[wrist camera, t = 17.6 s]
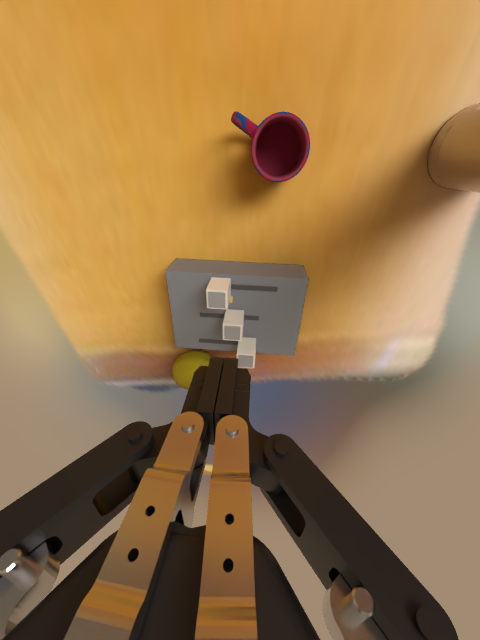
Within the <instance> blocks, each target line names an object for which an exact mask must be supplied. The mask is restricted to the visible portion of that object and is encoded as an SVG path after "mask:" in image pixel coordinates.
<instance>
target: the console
mask: <svg viewBox="0 0 480 640" xmlns="http://www.w3.org/2000/svg"><path fill="white" fill-rule="evenodd" d="M211 277H219V278H231V297H230V301H229V305H228V309H234V310H244V327H243V336H242V337H248V338H256V353H265V354H279V355H293V356H294V355H295V350H296V344H297V339H298V334H299V328H300V323H301V318H302V312H303V307H304V302H305V296H306V291H307V286H308V280H309V278H308V276H307V273H306V271H305V268H304V266H303V265H289V264H271V263H252V262H234V261H215V260H197V259H178V258H176V260H175V261H174V262H173V263H172V264H171V265H170V266H169V267H168V269H167V270H166V279H167V286H168V294H169V301H170V309H171V316H172V323H173V331H174V338H175V346H176V347H179V348H194V349H208V350H222V351H236V352H237V348H238V341H232V340H223V320H224V316H225V312H226V309H210V308H207V298H206V289H207V286H208V284H209V282H210V280H211Z"/></svg>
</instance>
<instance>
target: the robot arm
mask: <svg viewBox="0 0 480 640" xmlns="http://www.w3.org/2000/svg"><path fill="white" fill-rule="evenodd" d="M428 169H429V173H430V176H431V178H432V179H433V180H434V181H435V183H437V184H438V185H440V186H442V187H446V188H452V189H459V190H465V191H472V192H480V103H479V104H475V105H472V106H470V107H468V108H465V109H463V110H462V111H460V112H459V113H457V114H456V115H454V116H453V117H452V118H451V119H450V120H449V121H448V122H447V123H446V124H445V125H444V126H443V127H442V129H441V130H440V131H439V133H438V134H437V136H436V137H435V139H434V141H433V144H432V146H431V149H430V152H429V156H428ZM250 380H251V376H250V374H249V372H248V370H247V369H240V368H238V359H236V358H225V360H224V358H221V357H211V358H210V361H209V365H208V366H200V367H199V368H198V369H197V370H196V371H195V372H194V375H193V378H192V381H191V384H190V388H189V390H188V394H187V396H186V400H185V403H184V406H183V409H182V412H181V414H180V415H178V416H177V417H176V418H175V419H174V421H173V422H171V423H170V424H167V425H164V426H159V427H155V428H151V426H150V425H149V424H148V423H146V422H134V423H131V424H129V425H127V426H126V427H124V428H123V429H122V430H120V431H118V432H117V433H115V434H114V435H113V436H111V437H110V438H108V439H107V440H105V441H104V442H102V443H101V444H99V445H98V446H96V447H95V448H93V449H92V450H90V451H89V452H87V453H86V454H84V455H83V456H81V457H80V458H78V459H77V460H75V461H74V462H72V463H71V464H69V465H68V466H66V467H65V468H63V469H62V470H60V471H59V472H58V473H56V474H55V475H53V476H52V477H50V478H49V479H47V480H46V481H44V482H43V483H41V484H40V485H38V486H37V487H36V488H34V489H32V490H31V491H29V492H28V493H26V494H25V495H23V496H22V497H20V498H19V499H17V500H16V501H14V502H13V503H12V504H10V505H9V506H7V507H5V508H4V509H3V510H1V511H0V640H320V638H319V637H318V635H317V633H316V631H315V629H314V627H313V626H312V624H311V622H310V620H309V618H308V616H307V615H306V613H305V611H304V609H303V608H302V606H301V604H300V602H299V600H298V598H297V596H296V595H295V593H294V591H293V589H292V587H291V586H290V584H289V582H288V580H287V578H286V576H285V575H284V573H283V571H282V569H281V567H280V565H279V564H278V562H277V560H276V558H275V557H274V556H273V554H272V553H271V551H270V550H269V549H268V548H267V547H266V546H265V545H264V544H263V543H262V542H261V541H260V540H259V539H257V538H256V537H254V536H253V525H252V497H251V484H254V485H256V486H258V487H260V489H261V491H262V493H263V495H264V496H265V497H266V499H267V501H268V502H269V504H270V505H271V507H272V508H273V510H274V511H275V513H276V514H277V516H278V517H279V518H280V520H281V522H282V523H283V525H284V526H285V528H286V529H287V531H288V532H289V534H290V535H291V537H292V538H293V540H294V541H295V543H296V544H297V546H298V547H299V549H300V550H301V552H302V553H303V555H304V556H305V558H306V559H307V561H308V563H309V564H310V566H311V567H312V569H313V570H314V572H315V573H316V574H317V576H318V578H319V579H320V580H321V582H322V584H323V585H324V587H325V588H326V590H327V591H326V593H325V595H324V598H323V615H324V620H325V623H326V626H327V628H328V630H329V633H330V635H331V636H332V639H333V640H458V636H457V633H456V631H455V628H454V626H453V624H452V622H451V620H450V618H449V617H448V615H447V613H446V612H445V611H444V609H443V608H442V607H441V605H440V604H439V603H438V602H437V601H436V600H435V599H434V598H433V596H432V595H431V594H430V593H429V592H428V591H427V590H426V589H425V587H424V586H423V585H422V584H421V583H420V582H419V581H418V580H417V578H416V577H415V576H414V575H413V574H412V573H411V572H410V571H409V570H408V568H407V567H406V566H405V565H404V564H403V563H402V562H401V561H400V559H399V558H398V557H397V556H396V555H395V554H394V553H393V552H392V550H391V549H390V548H389V547H388V546H387V545H386V544H385V543H384V542H383V540H382V539H381V538H380V537H379V536H378V535H377V534H376V533H375V531H374V530H373V529H372V528H371V527H370V526H369V525H368V524H367V522H366V521H365V520H364V519H363V518H362V517H361V516H360V515H359V513H357V511H356V510H355V509H354V508H353V507H352V506H351V504H350V503H349V502H348V501H347V500H346V499H345V498H344V497H343V496H342V495H341V493H340V492H339V491H338V490H337V489H336V488H335V487H334V486H333V484H332V483H331V482H330V481H329V480H328V479H327V478H326V476H325V475H324V474H323V473H322V472H321V471H320V470H319V469H318V468H317V466H316V465H314V463H313V462H312V461H311V460H310V459H309V458H308V456H307V455H306V454H305V453H304V452H303V451H302V450H301V448H300V447H299V446H298V445H297V444H296V443H295V442H294V441H293V440H292V439H291V438H290V437H288V436H286V435H283V434H274V435H272V436H270V437H268V436H266V435H263V434H261V433H259V432H257V431H256V430H254V428H253V427H252V426H251V424H250V422H249V417H248V416H249V399H250ZM214 443H215V448H214V458H213V469H212V476H211V479H210V489H209V500H208V511H207V521H206V522H207V523H206V525H205V526H200V527H195V528H191V526H192V521H193V513H194V506H195V502H196V498H197V494H198V490H199V487H200V483H201V479H202V475H203V471H204V468H205V464H206V457H207V452H208V447H209V444H212V445H214ZM130 503H131V504H130ZM128 504H130V506H129V508H128V511H127V513H126V515H125V517H124V520H123V521H122V524H121V526H120V528H119V530H118V531H116V532H115V533H113V534H112V535H110V536H109V537H108V538H107V539H105V540H104V541H103V542H102V543H101V544H100V545H99V546H98V547H97V548H96V549H95V550H94V551H93V552H92V553H91V554H90V555H89V556H88V557H86V559H85V560H83V562H81V563H80V564H79V565H78V566H77V567H76V568H75V569H74V570H73V571H72V572H71V573H70V574H69V575H68V576H67V577H66V578H65V579H64V580H63V581H62V582H61V583H60V584H59V585H58V586H57V587H56V588H55V589H54V590H53V591H51V592H50V590H51V589H52V587H53V585H54V583H55V581H56V579H57V576H58V573H59V568H60V564H62V563H63V562H64V561H65V560H66V559H68V558H69V557H70V556H71V555H72V554H73V553H74V552H75V551H77V550H78V549H79V548H80V547H81V546H82V545H83V544H85V543H86V542H87V541H88V540H89V539H90V538H91V537H92V536H93V535H95V534H96V533H97V532H98V531H99V530H100V529H101V528H103V527H104V526H105V525H106V524H107V523H108V522H109V521H111V520H112V519H113V518H114V517H115V516H116V515H117V514H118V513H120V512H121V511H122V510H123V509H124V508H125V507H126V506H127V505H128ZM49 592H50V593H49ZM48 593H49V594H48ZM47 594H48V595H47ZM46 595H47V596H46ZM45 596H46V597H45ZM44 597H45V598H44ZM43 598H44V599H43ZM42 599H43V600H42ZM41 600H42V601H41ZM40 601H41V602H40ZM39 602H40V603H39Z"/></svg>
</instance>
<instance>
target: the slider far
mask: <svg viewBox="0 0 480 640" xmlns="http://www.w3.org/2000/svg"><path fill="white" fill-rule="evenodd" d="M255 353H256V338H248V337H242V341H238V348H237V359H238V367H241V368H254V366H255Z"/></svg>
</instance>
